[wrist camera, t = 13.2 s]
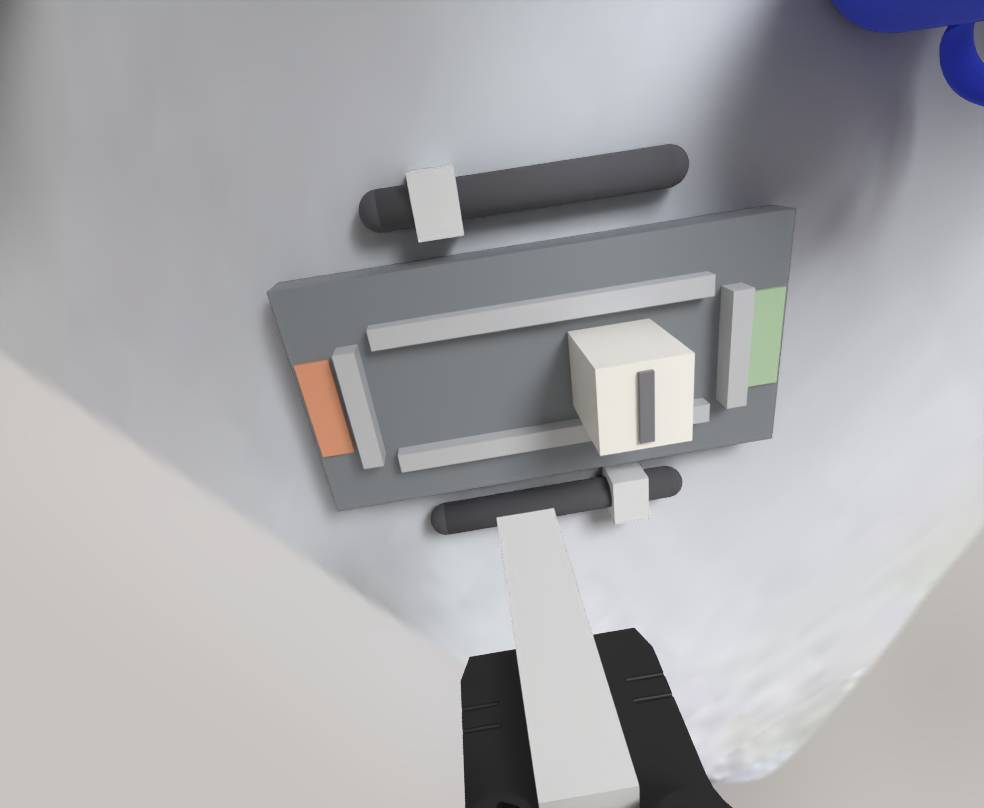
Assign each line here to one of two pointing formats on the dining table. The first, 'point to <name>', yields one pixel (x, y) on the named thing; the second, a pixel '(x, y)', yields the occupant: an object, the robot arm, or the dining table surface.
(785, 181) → the dining table surface
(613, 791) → the robot arm
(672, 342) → the toggle
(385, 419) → the panel
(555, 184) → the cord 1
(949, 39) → the mug
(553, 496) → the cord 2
